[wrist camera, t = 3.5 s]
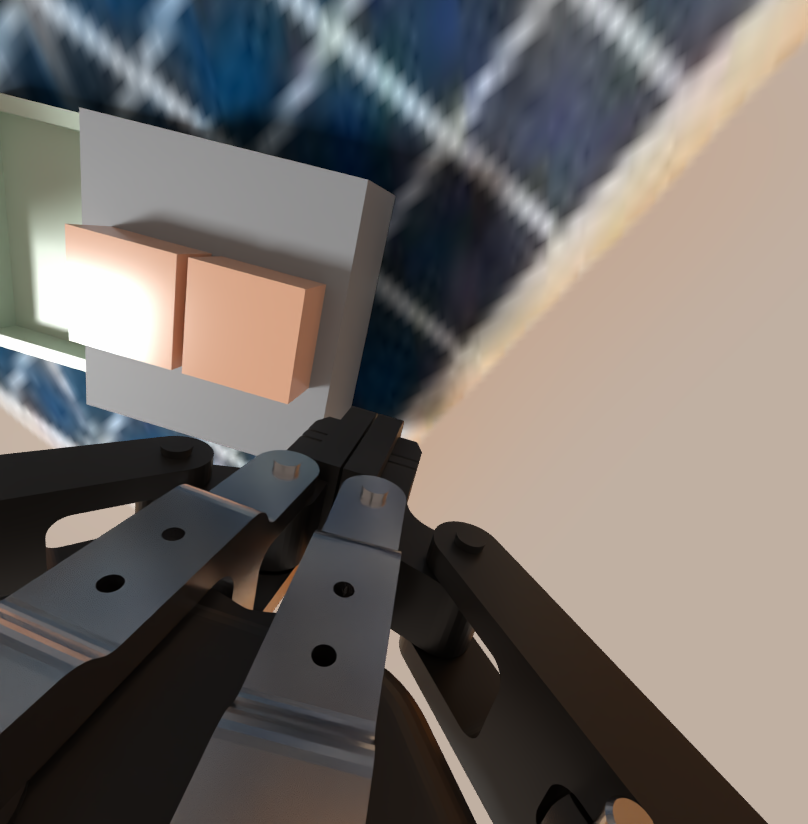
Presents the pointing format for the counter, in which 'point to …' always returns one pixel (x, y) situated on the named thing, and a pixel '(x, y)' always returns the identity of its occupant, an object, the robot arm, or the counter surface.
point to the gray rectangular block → (243, 241)
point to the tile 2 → (250, 327)
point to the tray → (37, 227)
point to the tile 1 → (127, 293)
